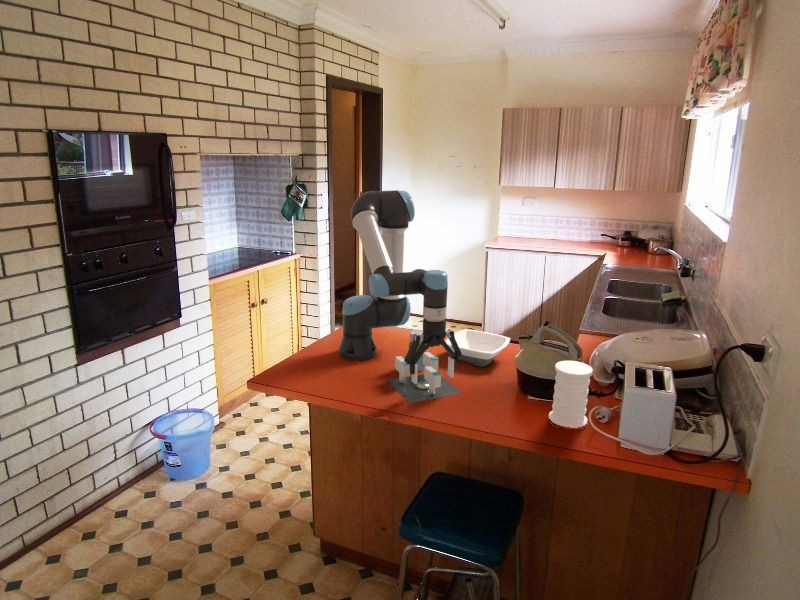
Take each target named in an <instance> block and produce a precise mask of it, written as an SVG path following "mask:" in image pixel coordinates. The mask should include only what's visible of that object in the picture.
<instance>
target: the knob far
mask: <svg viewBox="0 0 800 600" xmlns="http://www.w3.org/2000/svg"><path fill="white" fill-rule="evenodd" d="M439 360H440V359H439V357H437V356H435V355H433V353H431V352H430V351H428V352H424V353H423V365H425V366H426V367H428V366H431V367H432V368H433V369H435V370H436V371H439Z"/></svg>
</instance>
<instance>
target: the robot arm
mask: <svg viewBox="0 0 800 600" xmlns="http://www.w3.org/2000/svg"><path fill="white" fill-rule="evenodd" d="M415 212H416V210H415V204H414V200H413V198H412V196H411V194H410V193H409V192H408V191H406V190H369V191H365V192H363V193H362V194H360V195H358V196H357V198H356V199H355V201H354V202H353V204H352V206H351V210H350V221H351V224H352V226H353V228H354V229H355V230H356V231H357V233H358V236H359V239H360V242H361V245H362V247H363V251H364V254H365V257H366V261H367V262H368V266H369V269H370V272H371V273H372V274H370V276H369V279H368V287H369V292H370V295H367V294H359V295H354V296H351V297H348V298H346V299H345V300H344V301H343V303H342V311H341V314H342V338H341V341H340V344H339V347H338V356H339V357H340V358H342V359H344V360H347V361H353V362H354V361H355V362H356V361H357V362H358V361H367V360H370V359H373V358H375V357H376V355H377V346H376V343H375V340H374V337H373V329H380V328H390V327H393V328H394V327H398V326H404V325H406V323H408V321H409V319H410V316H411V310H412V309H411V302H410V299H409V297H408V296H409V295H422V296H423V305H422V306H423V307H422V309H423V310H422V317H423V319H422V330H423V334H422V335H417V334H414V337H413V342H412V344H411V346H410V348H409V347H408V351H407V353H406V355H405V358H404V362H406V363H407V364H410V375H411V376H412V382H413V383H414V384H417V375H418V372H419V371H418V365H417V364H416V363H417V362H418V360H419V359H420V357H421V356H422V355H423V353H424V352H425V351H426V349H429V348H430V347H431V348H433V347H440V346H441V347H443V349H444V350H445V351H446V352H447V353H448V355H449V356H447V360H448V361H447V375H448V376H449V377H450V378H451V379H453V378H454V377H455V375H454V373H455V371H454V370H455V368H456V366H457V360H459V359H458V356H461V355H462V353H461V351H460V349H459V346H458V344H457V342H456V340H455V337H454V334H455V332H454V330H452V329H447V301H448V286H449V282H448V273H447V272H446V271H444V270H440V269H431V270H430V269H429V270H425V269H422V268H416V269H414V270H412V271H406V272H403V271H404V250H405V249H404V248H405V247H404V246H405V231H406V230H407V229H408V228H409V223H411V222H413V221H414V220H415V219H414V218H415ZM373 297H374V298H373ZM446 329H447V330H446ZM446 337H447V339H448V338H449V340H450V343H451V345H452V347H453V349H454V351H455V352H453V351H452V350H451V348H450V347H449V346H448V345H447V343H446V342H445V341H446V340H445V338H446ZM421 339H423V341H422V343H421V345H420V347H419V348H418V346H419V343H420V342H421ZM425 344H426V345H425ZM417 348H418V349H417ZM416 350H417V351H416Z"/></svg>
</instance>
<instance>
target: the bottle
mask: <svg viewBox="0 0 800 600" xmlns="http://www.w3.org/2000/svg"><path fill="white" fill-rule="evenodd" d="M414 334H417V335H422V334H423V329H413V330H411V331H410V332H409V342H408V349H409V348H410V346H411V344H412V342H413V337H414ZM422 341H423V339H421V342H420V343H419V346H418V348H419V347H420V345H421V343H422ZM425 345H426V344H425ZM418 348H417V349H418ZM428 349H429V348H428ZM428 349H426V351H425V352H429V350H428ZM416 351H417V350H416ZM416 364H417V365H418V372H423V371H424V369H425V367H426V366H425V365H423V355H422V356H421V357H420V359H419V360H418V362H417V363H416Z"/></svg>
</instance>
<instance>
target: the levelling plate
mask: <svg viewBox="0 0 800 600" xmlns="http://www.w3.org/2000/svg"><path fill="white" fill-rule="evenodd" d="M386 382H387V383H388V384H389V385H390V386H391V387H392V388H393V389H394V390H395V391H396V392H397V393H398V394H399V395H400V396H401V397H402V398H403V399H404V400H405V401H406V402H407V403H408V404H413V403H418V402H419V403H420V402H424V401H429V400H435V399H440V398H445V397H450V396H455V395H461V394H463V392H462V391H461V390H460V389H459V388H458V387H456V386H454V385H453V384H452V383H451V382H450V381H448V380H447V379H446V378H445V377H444V376H442V375H441V387H437V388H435V394H429V383H428V382H427V381H426V380H425V379H424V373H423V374H417V384H414V383H413V382H412V375H410V376H405V382H404V383H400V382H399V378H395V379H394V378H393V379H389V380H386Z"/></svg>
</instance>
